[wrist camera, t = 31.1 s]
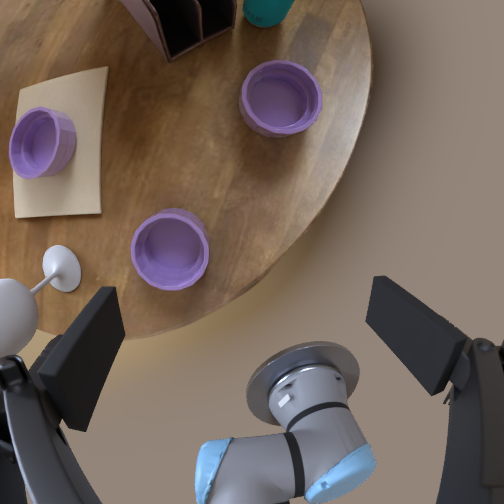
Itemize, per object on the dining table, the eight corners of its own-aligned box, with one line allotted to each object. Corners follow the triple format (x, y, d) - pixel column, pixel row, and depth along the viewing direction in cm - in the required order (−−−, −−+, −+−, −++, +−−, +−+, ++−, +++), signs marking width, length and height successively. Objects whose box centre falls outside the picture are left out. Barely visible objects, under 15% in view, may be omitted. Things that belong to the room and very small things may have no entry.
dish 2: (209, 275, 37) (209, 290, 32) (144, 274, 36) (134, 289, 31) (209, 207, 34) (208, 213, 30) (140, 207, 33) (128, 214, 28)
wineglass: (79, 299, 36) (8, 391, 16) (41, 281, 34) (-40, 356, 14) (86, 254, 34) (-4, 334, 14) (45, 237, 32) (-53, 296, 12)
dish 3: (307, 141, 33) (321, 137, 29) (236, 136, 32) (240, 130, 27) (309, 78, 31) (322, 66, 26) (240, 70, 30) (244, 56, 25)
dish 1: (76, 173, 30) (58, 175, 25) (28, 179, 29) (8, 182, 24) (80, 107, 27) (62, 100, 23) (31, 118, 26) (11, 115, 21)
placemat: (102, 212, 33) (100, 213, 32) (17, 217, 30) (15, 218, 30) (109, 67, 27) (107, 66, 26) (22, 90, 25) (20, 89, 24)
